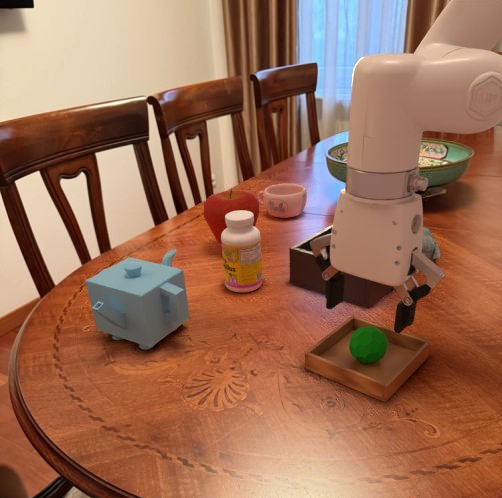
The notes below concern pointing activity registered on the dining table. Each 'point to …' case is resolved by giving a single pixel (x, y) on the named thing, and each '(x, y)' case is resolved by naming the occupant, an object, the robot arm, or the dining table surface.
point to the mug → (284, 200)
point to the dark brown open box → (311, 278)
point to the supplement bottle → (241, 252)
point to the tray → (367, 374)
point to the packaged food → (430, 245)
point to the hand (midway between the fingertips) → (366, 316)
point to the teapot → (139, 300)
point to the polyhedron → (368, 344)
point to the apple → (228, 208)
